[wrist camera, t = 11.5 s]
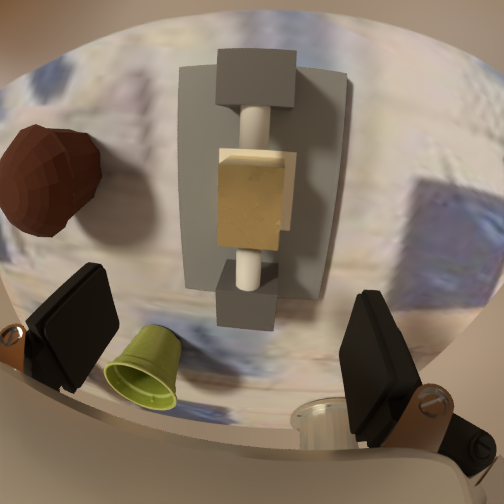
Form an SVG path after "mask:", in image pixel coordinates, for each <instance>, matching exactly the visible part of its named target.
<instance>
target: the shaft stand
mask: <svg viewBox="0 0 504 504" xmlns="http://www.w3.org/2000/svg"><path fill="white" fill-rule="evenodd" d="M296 54H297V51H294V50H281V49H259V48H232V49H218V55H217V65H199V66H187V67H179V88H178V188H179V210H180V227H181V242H182V255H183V266H184V277H185V287H186V288H188V289H197V290H206V291H215V292H216V314H217V326H222V327H231V328H241V329H251V330H261V331H273V329H274V321H275V313H276V305H277V297H280V298H293V299H308V300H318V297H319V292H320V287H321V283H322V278H323V273H324V267H325V262H326V257H327V251H328V246H329V240H330V234H331V228H332V222H333V215H334V208H335V202H336V194H337V187H338V179H339V171H340V162H341V153H342V143H343V132H344V120H345V106H346V88H347V73H341V72H335V71H329V70H322V69H314V68H306V67H296ZM230 155H239V156H258V157H272V158H284V162H285V177H284V189H283V201H282V212H281V223H280V234H279V244H278V251H275V250H263V249H252V248H240V247H228V246H218V164H219V163H220V162H222V161H223V160H225V159H226V158H228V157H229V156H230Z"/></svg>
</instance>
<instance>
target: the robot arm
mask: <svg viewBox="0 0 504 504" xmlns="http://www.w3.org/2000/svg"><path fill="white" fill-rule="evenodd" d="M26 324H27V326H28V328H29V330H28V331H26V329H25V328H24V326H23V325H21V324H12V325H9V326H7V327H5V328H4V329H3V330H2V331H1V332H0V504H504V458H503V457H502V456H501V455H499V456H498V457H496V444H495V441H494V439H493V437H492V436H491V435H489V433H487V432H485V431H484V430H482V429H480V428H479V427H477V426H475V425H473V424H472V423H470V422H468V421H466V420H465V419H463V418H461V417H460V416H458V415H456V414H454V413H453V410H454V403H453V399H452V397H451V395H450V394H449V392H448V391H447V390H446V389H444V388H443V387H441V386H439V385H436V384H424V385H422V382H421V379H420V377H419V374H418V372H417V369H416V367H415V364H414V362H413V359H412V357H411V354H410V352H409V350H408V347H407V345H406V343H405V340H404V338H403V336H402V333H401V331H400V330H399V329H398V328H397V326H396V323H395V321H394V319H393V317H392V315H391V313H390V310H389V308H388V306H387V304H386V302H385V300H384V298H383V296H382V294H381V292H380V291H378V290H363V292H362V294H358V295H357V297H356V300H355V303H354V307H353V310H352V313H351V317H350V320H349V323H348V326H347V329H346V332H345V335H344V338H343V341H342V344H341V347H340V351H339V360H340V366H341V372H342V378H343V384H344V391H345V397H346V399H345V398H330V399H323V400H318V401H314V402H311V403H308V404H306V405H303V406H302V407H300V408H298V409H297V410H296V411H294V413H293V414H292V416H291V425H292V427H293V428H294V429H296V430H297V431H299V432H300V450H292V449H271V448H259V447H250V446H241V445H233V444H225V443H220V442H213V441H208V440H202V439H197V438H192V437H188V436H183V435H179V434H174V433H170V432H166V431H162V430H159V429H155V428H152V427H148V426H145V425H141V424H138V423H135V422H132V421H129V420H126V419H123V418H120V417H117V416H114V415H112V414H109V413H106V412H104V411H101V410H99V409H96V408H94V407H91V406H89V405H86V404H84V403H81V402H79V401H77V400H75V399H73V398H70V397H68V396H66V395H64V394H62V393H60V389H59V388H60V387H61V386H62V387H63V389H64V390H66V391H68V392H70V393H73V394H74V393H75V392H76V390H77V388H80V387H81V386H82V384H83V383H84V381H85V380H86V378H87V376H88V375H89V373H90V372H91V370H92V369H93V367H94V365H95V364H96V362H97V361H98V359H99V358H100V356H101V355H102V353H103V352H104V350H105V349H106V347H107V346H108V344H109V343H110V341H111V340H112V338H113V337H114V335H115V334H116V332H117V331H118V329H119V319H118V315H117V312H116V308H115V305H114V301H113V297H112V294H111V290H110V286H109V282H108V277H107V273H106V270H105V269H104V268H103V266H102V265H101V264H98V263H91V262H88V263H86V264H85V265H84V266H83V267H82V268H80V269H79V270H78V271H77V272H76V273H75V274H74V275H73V276H71V277H70V278H69V279H68V280H67V281H66V282H65V283H64V284H63V285H62V286H60V287H59V288H58V289H57V290H56V291H55V292H54V293H53V294H52V295H51V296H50V297H49V298H48V299H47V300H46V301H45V302H44V303H43V304H42V305H41V306H40V307H39V308H38V309H37V310H36V311H35V312H34V313H33V314H32V315H31V316H30V317H29V318H28V319H27V320H26ZM362 441H367V446H368V447H369V448H365V449H358V442H362Z"/></svg>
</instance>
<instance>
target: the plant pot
mask: <svg viewBox="0 0 504 504" xmlns="http://www.w3.org/2000/svg"><path fill="white" fill-rule="evenodd" d="M181 349H182V345H181V342H180V340H178V339H177V338H176V337H175V335H174V334H173V332H171V331H170V330H168V329H166V328H164V327H162V326H158V325H149V326H147V327H143V328H142V329H141V331H140V332H139V333H138V334H137V336H136V337H135V338H134V339H133V340H132V342H131V343H130V344H129V345H128V347H127V348H126V349H125V350H124V351H123V353H122V354H121V355H120V356H119V357H117V358H116V359H115V360H114V361H113V362H110V363H108V364H107V365H106V366H105V368H104V376H105V378H106V380H107V381H108V383H109V384H110V385H111V386H112V388H113V389H114V390H116V391H117V392H118V393H119V394H120V395H122V396H123V397H125V398H126V399H128V400H130V401H132V402H133V403H136V404H138V405H140V406H143V407H146V408H149V409H155V410H169V409H171V408H173V407H175V405H176V403H177V396H176V394H175V393H176V387H175V382H176V376H177V370H178V364H179V359H180V354H181Z"/></svg>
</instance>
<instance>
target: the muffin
mask: <svg viewBox="0 0 504 504" xmlns="http://www.w3.org/2000/svg"><path fill="white" fill-rule="evenodd" d="M101 178H102V174H101V168H100V151H99V150H98V149H97V148H96V146H95V145H94V144H93V143H92V141H91V139H90V137H89V136H88V134H87V133H80V132H76V131H73V130H70V129H51V128H44V127H42V126H39V125H37V124H35V125H32V126H30V127H27V128H25V129H22V130H20V132H19V133H18V134H17V136H16V137H15V139H14V140H13V141H12V143H11V144H10V146H9V147H8V148H7V150H6V151H5V153H4V154H3V156H2V158H1V160H0V208H1V209H2V211H3V213H4V214H5V216H6V217H7V219H8V220H9V222H10V223H11V224H13V225H14V226H15V227H17V228H18V229H20V230H21V231H22V232H25V233H28V234H31V235H35V236H37V237H53V236H55V235H56V234H57V233H58V232H60V231H61V230H62V229H64V228H65V227H66V224H67V221H68V220H69V219H70V218H71V217H72V216H73V215H74V214H75V213H76V212H77V211H79V210H80V209H81V208H82V207H83V206H84V205H85V204H86V203H87V202H89V201H90V200H91V199H92V198H93V197H94V194H95V191H96V187H97V185H98V183H99V181H100V179H101Z"/></svg>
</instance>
